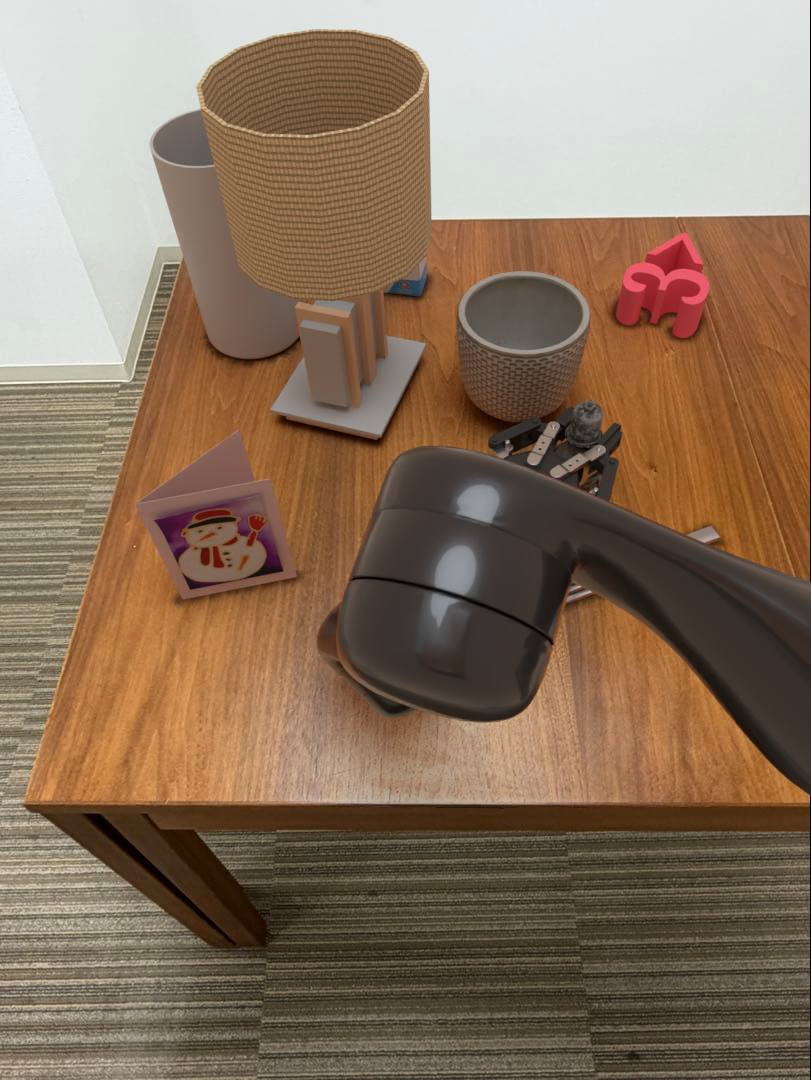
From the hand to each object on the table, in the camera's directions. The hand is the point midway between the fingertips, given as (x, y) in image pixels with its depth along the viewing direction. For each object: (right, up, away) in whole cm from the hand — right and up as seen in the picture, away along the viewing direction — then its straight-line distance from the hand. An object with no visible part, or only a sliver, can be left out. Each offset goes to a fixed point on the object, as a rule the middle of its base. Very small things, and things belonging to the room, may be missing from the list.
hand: (597, 421), depth 80 cm
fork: (+3, -15, -1) cm, 15 cm away
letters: (+14, +19, +23) cm, 33 cm away
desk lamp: (-26, +6, +16) cm, 31 cm away
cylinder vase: (-38, +15, +23) cm, 47 cm away
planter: (-6, +4, +13) cm, 15 cm away
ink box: (-21, +22, +27) cm, 41 cm away
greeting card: (-36, -15, +1) cm, 39 cm away
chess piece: (-1, -6, +4) cm, 8 cm away
